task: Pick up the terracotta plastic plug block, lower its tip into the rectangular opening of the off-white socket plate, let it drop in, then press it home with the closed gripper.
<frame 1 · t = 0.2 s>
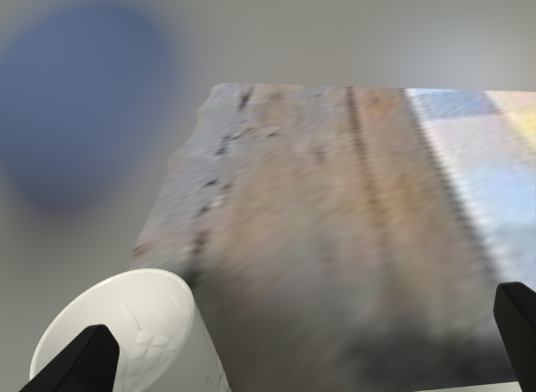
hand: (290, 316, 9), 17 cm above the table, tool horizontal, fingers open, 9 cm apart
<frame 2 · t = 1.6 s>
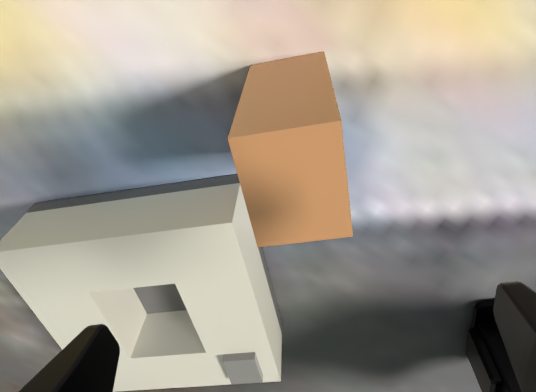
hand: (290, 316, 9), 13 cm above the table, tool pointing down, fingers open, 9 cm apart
plug: (294, 103, 20), on the table
socket plate: (170, 269, 27), on the table
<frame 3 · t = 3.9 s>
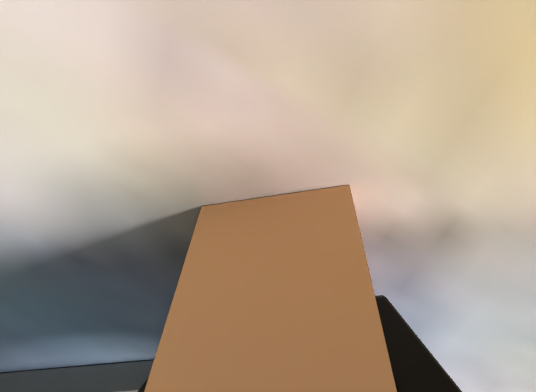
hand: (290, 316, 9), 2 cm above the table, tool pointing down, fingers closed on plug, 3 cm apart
plug: (289, 265, 10), on the table, touching gripper
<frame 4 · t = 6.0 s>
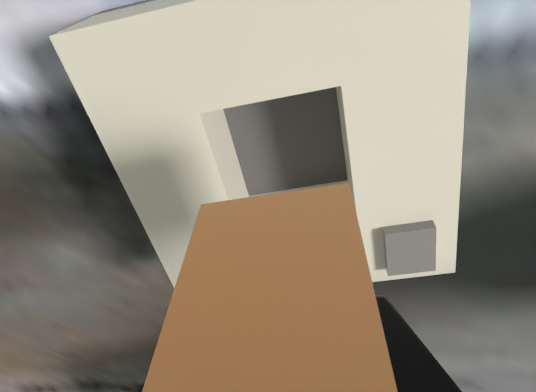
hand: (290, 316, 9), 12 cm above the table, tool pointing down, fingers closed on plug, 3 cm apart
plug: (289, 263, 10), point 10 cm above the table, touching gripper
socket plate: (286, 124, 19), on the table
when the fingers open (5 cm above the table, at t = 8.2 s): plug drops 3 cm, resting on socket plate.
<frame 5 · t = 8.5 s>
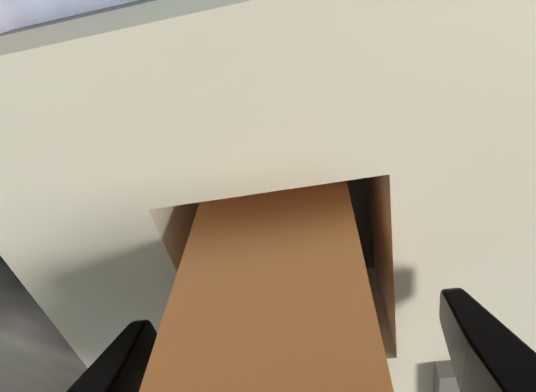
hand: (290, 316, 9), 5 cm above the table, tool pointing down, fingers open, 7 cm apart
plug: (287, 207, 13), point 1 cm above the table, touching socket plate
socket plate: (288, 191, 13), on the table
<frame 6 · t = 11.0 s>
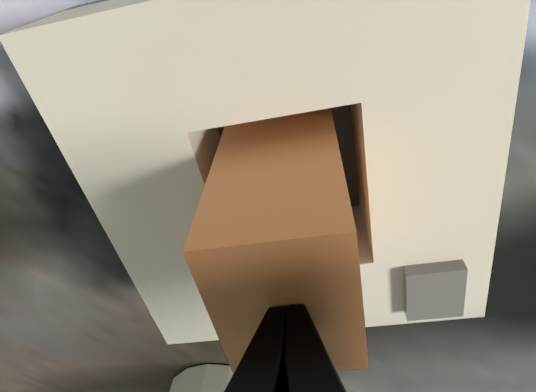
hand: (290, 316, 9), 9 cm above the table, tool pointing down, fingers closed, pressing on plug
plug: (288, 151, 16), point 1 cm above the table, touching gripper, socket plate
socket plate: (289, 141, 17), on the table
white cup: (220, 388, 28), on the table
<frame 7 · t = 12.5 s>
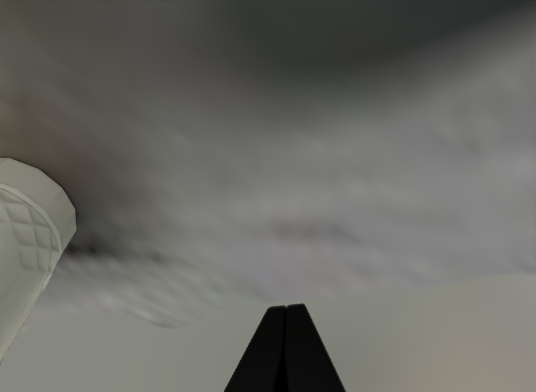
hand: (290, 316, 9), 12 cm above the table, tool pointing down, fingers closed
white cup: (20, 204, 23), on the table
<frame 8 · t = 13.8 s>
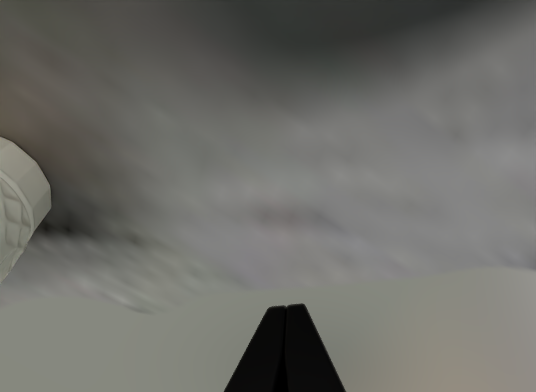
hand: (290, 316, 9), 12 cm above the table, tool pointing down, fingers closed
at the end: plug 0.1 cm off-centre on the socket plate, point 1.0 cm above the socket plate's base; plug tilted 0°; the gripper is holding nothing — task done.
